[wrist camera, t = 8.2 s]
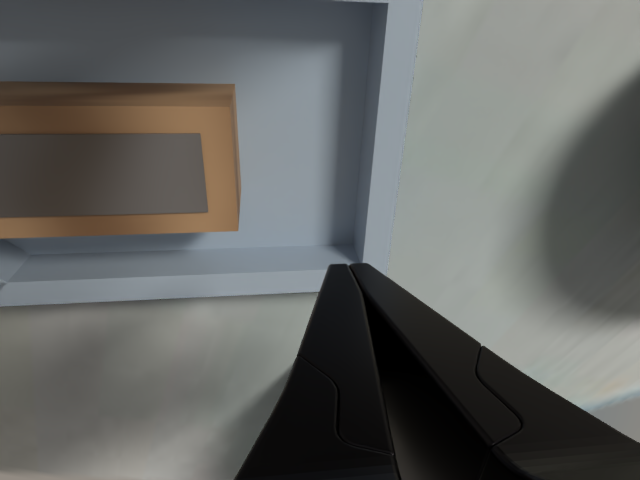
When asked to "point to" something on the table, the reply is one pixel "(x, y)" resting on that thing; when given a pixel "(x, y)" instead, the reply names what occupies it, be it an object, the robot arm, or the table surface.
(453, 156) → the table surface
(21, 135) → the bar
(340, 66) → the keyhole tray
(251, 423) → the table surface
